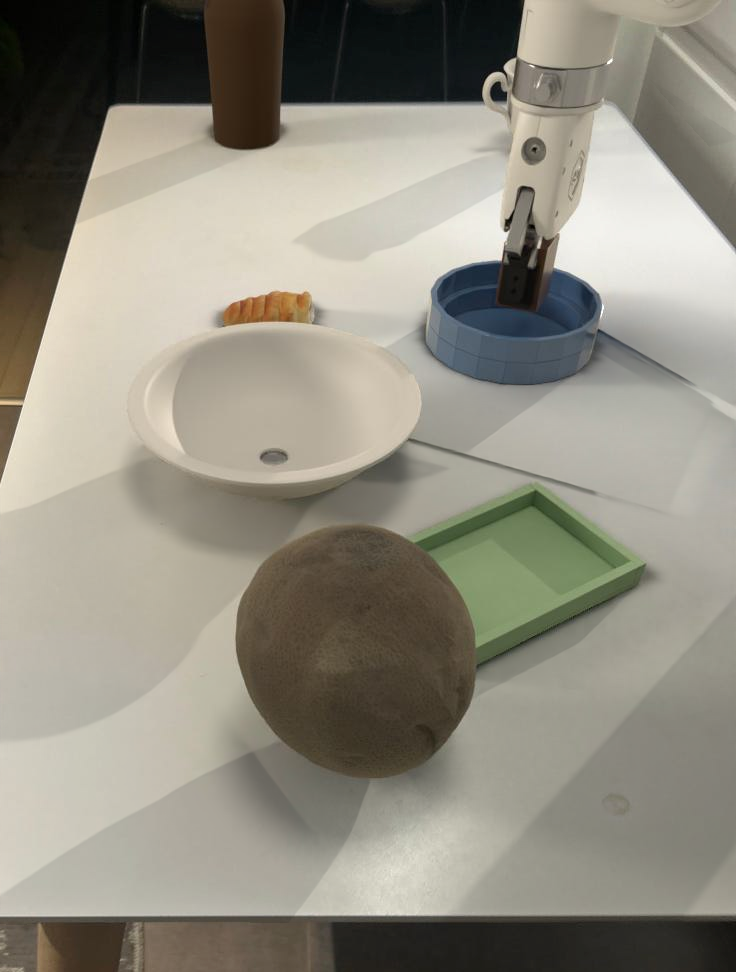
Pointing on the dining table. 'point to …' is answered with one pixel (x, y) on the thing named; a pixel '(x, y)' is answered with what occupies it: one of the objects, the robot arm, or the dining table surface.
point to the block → (544, 274)
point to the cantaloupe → (357, 650)
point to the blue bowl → (511, 327)
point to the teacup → (506, 85)
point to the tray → (527, 565)
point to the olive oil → (245, 70)
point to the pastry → (271, 309)
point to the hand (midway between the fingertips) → (522, 292)
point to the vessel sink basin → (274, 407)
